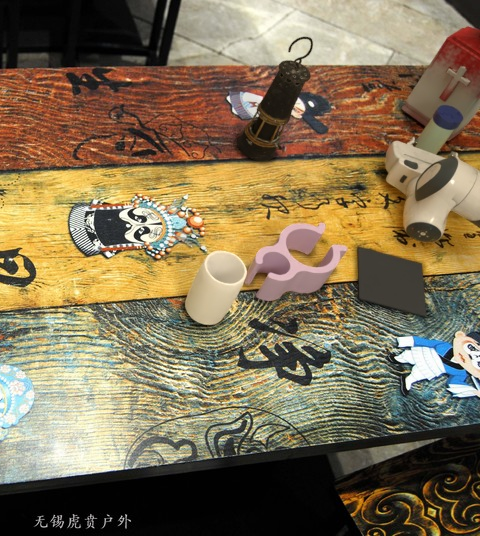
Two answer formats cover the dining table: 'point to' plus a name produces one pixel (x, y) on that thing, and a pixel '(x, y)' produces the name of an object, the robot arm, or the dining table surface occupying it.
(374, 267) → the mat
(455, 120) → the lid
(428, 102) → the red white cross box
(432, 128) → the jar
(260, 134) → the lantern
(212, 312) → the cup
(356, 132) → the dining table surface
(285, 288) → the clip
